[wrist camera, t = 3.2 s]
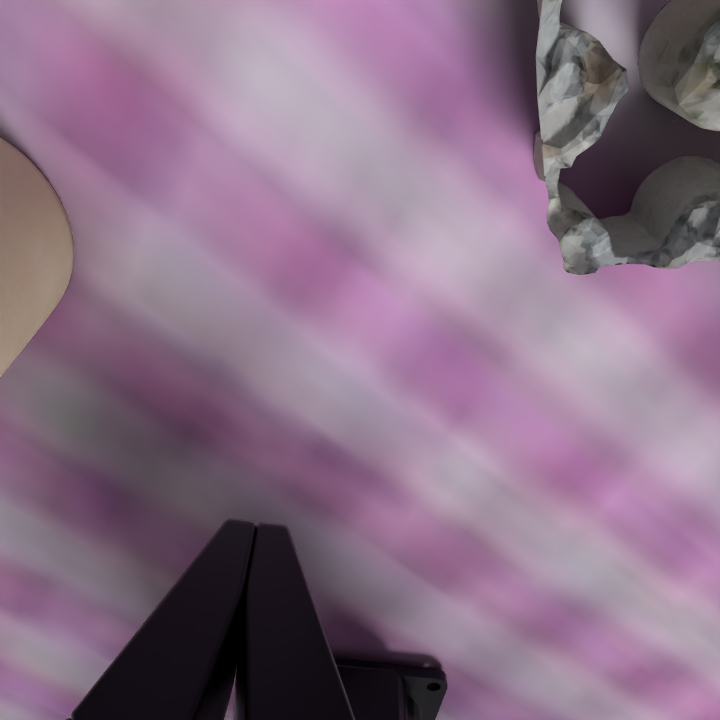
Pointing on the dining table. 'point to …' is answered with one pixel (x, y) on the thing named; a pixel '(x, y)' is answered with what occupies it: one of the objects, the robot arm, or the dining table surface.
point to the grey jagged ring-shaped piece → (589, 118)
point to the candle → (29, 252)
